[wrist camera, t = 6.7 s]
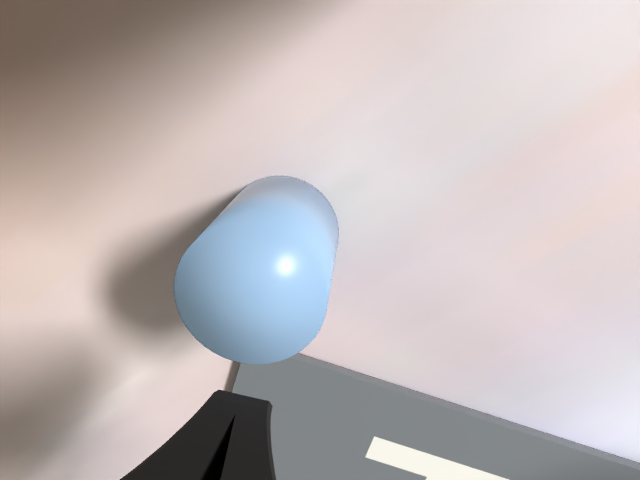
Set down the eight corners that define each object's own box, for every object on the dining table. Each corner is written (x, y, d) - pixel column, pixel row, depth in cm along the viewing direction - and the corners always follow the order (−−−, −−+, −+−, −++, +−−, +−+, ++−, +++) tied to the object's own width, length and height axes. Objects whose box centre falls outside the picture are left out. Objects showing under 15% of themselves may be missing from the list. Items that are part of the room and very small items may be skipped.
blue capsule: (354, 197, 20) (348, 252, 15) (318, 297, 22) (301, 382, 16) (241, 160, 20) (192, 201, 15) (214, 263, 22) (160, 337, 16)
